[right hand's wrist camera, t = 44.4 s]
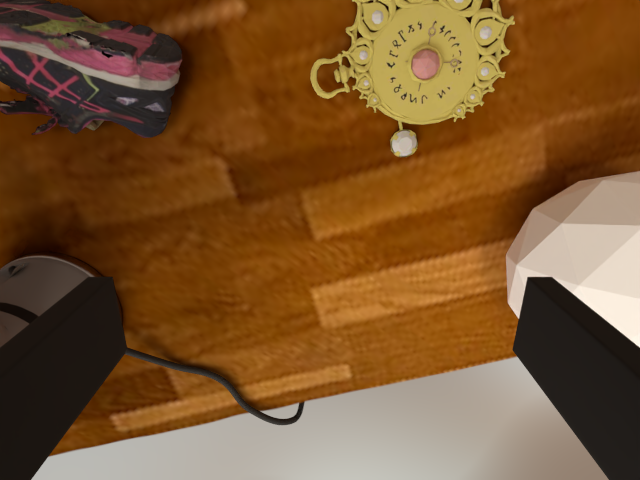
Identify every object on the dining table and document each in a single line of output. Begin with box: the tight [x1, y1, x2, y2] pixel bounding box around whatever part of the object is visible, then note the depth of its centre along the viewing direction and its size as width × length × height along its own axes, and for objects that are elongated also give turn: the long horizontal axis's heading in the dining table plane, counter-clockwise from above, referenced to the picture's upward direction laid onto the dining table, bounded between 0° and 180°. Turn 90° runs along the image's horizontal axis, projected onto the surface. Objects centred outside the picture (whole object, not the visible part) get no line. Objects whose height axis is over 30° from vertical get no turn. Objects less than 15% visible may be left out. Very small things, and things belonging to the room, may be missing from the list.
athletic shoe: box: [0, 0, 182, 138], centre depth 36 cm, size 11×22×12 cm
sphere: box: [506, 171, 640, 347], centre depth 37 cm, size 19×20×20 cm
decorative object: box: [310, 0, 515, 157], centre depth 38 cm, size 21×2×20 cm
